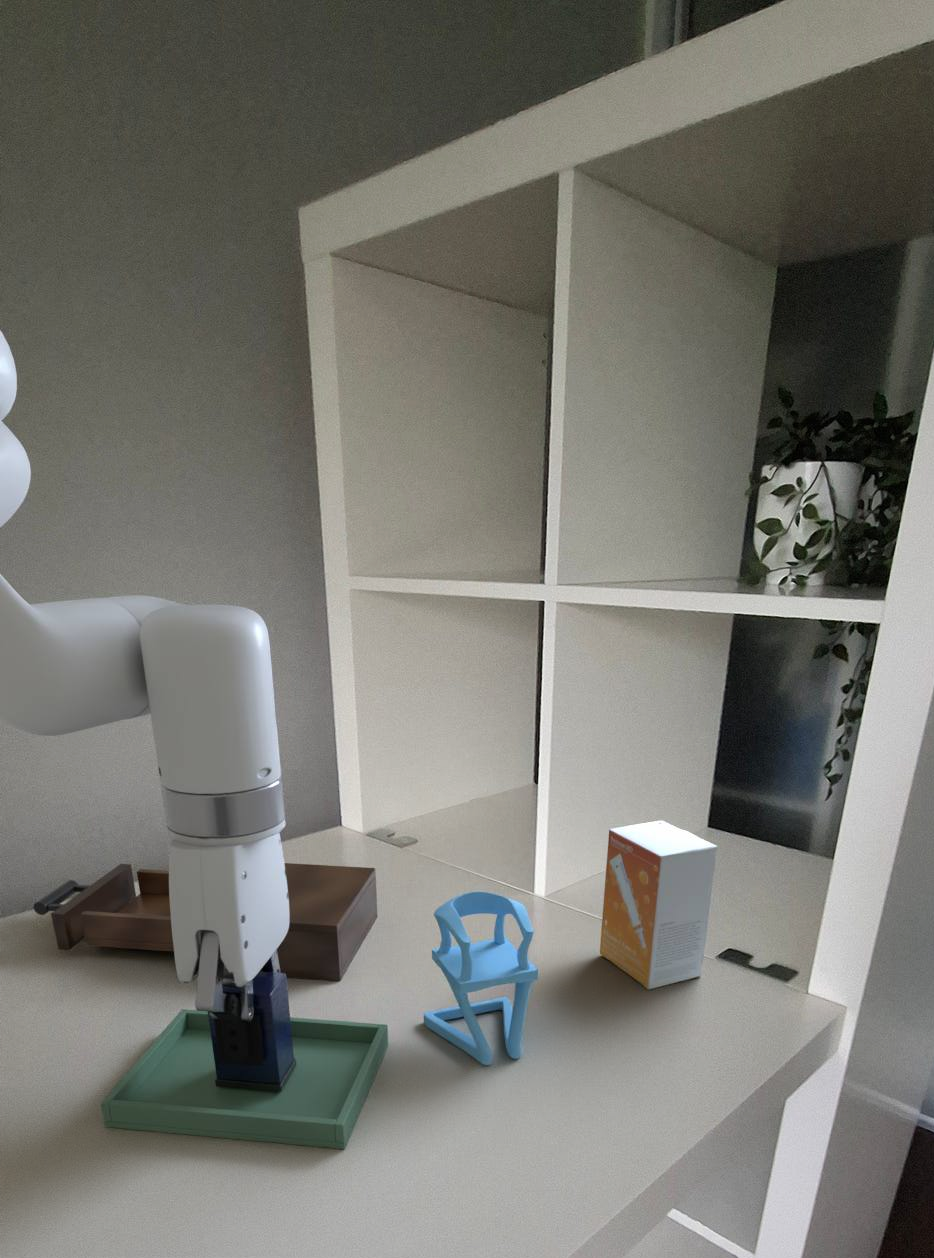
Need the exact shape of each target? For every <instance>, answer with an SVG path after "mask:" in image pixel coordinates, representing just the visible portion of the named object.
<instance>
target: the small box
mask: <svg viewBox="0 0 934 1258" xmlns="http://www.w3.org/2000/svg"><path fill="white" fill-rule="evenodd" d="M607 841H608V842H607V853H606V854H607V855H606V856H607V857H606V866H605V880H604V890H603V891H604V892H603V893H604V894H603V906H602V917H601V918H602V919H601V930H600V931H601V932H600V942H599V955H600V956H602V957H603V958H605V959H607V960H608V961H610V962H611V964H614V965H615V966H617V968H619V969H620V970H622V971H623V972H625V973H626V974H628V975H629V977H631V978H633V979H634V980H636V981H637V982H638V983H639V984H641V985H642V986H643V987H644V988H646V989H647V990H652V989H656V988H660V987H664V986H668V985H672V984H675V983H679V982H683V981H687V980H691V979H694V978H695V979H696V978H698V977H700V976H702V974H703V966H704V965H703V964H704V957H705V956H704V955H705V950H706V949H705V948H706V940H707V933H708V926H709V925H708V924H709V917H710V909H711V901H712V899H711V898H712V894H713V884H714V875H715V867H716V859H717V853H718V845H716V844H714V843H712V842H709V841H708V840H706V839H703V838H701V837H699V836H697V835H696V834H693V832H690V831H688V830H684V829H681V828H679V827H677V826H675V825H673V824H671V823H668V822H667V821H665V820H656V821H649V822H643V823H636V824H631V825H630V824H629V825H625V826H620V827H619V826H618V827H614V828H610V829H608V840H607Z"/></svg>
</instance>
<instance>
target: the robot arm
mask: <svg viewBox="0 0 934 1258" xmlns="http://www.w3.org/2000/svg"><path fill="white" fill-rule="evenodd" d="M14 359H15V358H14V356H13V354H12V350H11V347H10V345H9V342H8V341H7V339H6V337H5V335H4V333H3V332H2V329H0V528H2V527H3V526H4V525H5V524H6V523H8V522H9V520H10V519H11V518H12V517H13V515H14V514H16V512H17V511H18V510H19V508H20V507H21V505H22V503H24V501H25V500H26V497H27V494H28V492H29V489H30V485H31V480H32V479H31V478H32V476H31V475H32V470H31V463H30V459H29V456H28V454H27V451H26V449H25V448H24V446H23V444H22V443H21V441H20V440H19V439H18V438H17V437H16V435H15V434H14V433H13V432H12V431H11V430H10V429H9V427H8V426H7V425H6V424H5V423H4V421H2V420H4V419H5V418H6V417H7V415H8V414H9V413H10V412H11V410H12V408H13V405H14V403H15V401H16V397H17V393H18V392H17V391H18V374H17V368H16V363H15V360H14ZM269 637H270V636H269V632H268V627H267V625H266V622H265V621H264V619H263V618H262V617H261V615H260V614H259V613H257V612H256V611H255V610H254V609H250V608H247V607H244V606H239V605H232V604H184V603H179V602H177V601H172V600H169V599H165V598H162V597H157V596H151V595H142V594H141V595H140V594H130V595H129V594H128V595H127V594H126V595H117V596H116V595H115V596H107V597H92V598H91V597H90V598H84V599H83V598H80V599H70V600H57V601H47V602H39V603H31V604H30V603H29V602H27V601H26V600H25V599H24V598H23V597H22V596H21V595H20V594H19V593H18V592H17V591H16V590H15V589H14V587H13V586H12V585H11V584H10V583H9V581H7V579H6V578H5V577H4V576H3V575H2V574H1V573H0V719H2V720H3V721H5V722H7V723H8V724H9V725H11V726H12V727H15V728H17V729H18V730H21V731H22V732H26V733H29V734H32V735H37V736H43V737H46V736H49V737H57V736H63V735H67V734H71V733H76V732H80V731H84V730H88V729H92V728H96V727H101V726H105V725H108V724H113V723H116V722H119V721H124V720H125V721H126V720H131V719H134V718H135V719H136V718H140V717H143V716H148V715H150V719H151V727H152V733H153V740H154V748H155V753H156V754H155V755H156V761H157V767H158V768H157V769H158V774H159V781H160V787H161V794H162V804H163V808H164V815H165V821H166V822H165V823H166V828H167V829H166V831H167V834H168V836H169V838H171V839H172V841H170V843H169V853H168V854H169V855H168V871H169V899H170V913H171V926H172V937H173V947H174V951H173V955H174V962H175V969H176V970H175V971H176V974H177V978H178V980H179V981H180V982H181V983H182V984H190V983H192V982H193V981H194V980H195V979H197V982H196V993H195V1003H194V1004H195V1005H194V1007H195V1010H198V1011H209V1012H210V1017H211V1018H214V1024H215V1031H216V1039H217V1046H218V1054H219V1059H220V1061H221V1062H223V1063H230V1064H243V1065H255V1066H259V1065H261V1064H262V1062H263V1061H264V1059H265V1056H264V1047H263V1038H262V1029H261V1020H260V1014H256V1013H254V998H253V978H254V977H255V976H256V975H257V974H258V972H259V971H262V972H277V973H280V966H279V960H278V954H277V953H278V952H279V949H278V947H279V945H280V944H281V942H282V941H283V940H284V938H285V936H286V934H287V932H288V929H289V898H288V887H287V879H286V871H285V864H284V863H285V857H284V852H283V846H282V845H283V844H282V839H281V835H280V832H282V831H283V830H284V829H285V827H286V824H287V823H286V816H285V803H284V802H285V801H284V791H283V781H282V780H283V779H282V768H281V767H282V766H281V755H280V746H279V734H278V733H279V732H278V723H277V711H276V710H277V709H276V700H275V690H274V689H275V688H274V687H275V686H274V678H273V677H274V676H273V666H272V655H271V644H270V638H269ZM224 969H227V970H228V972H232V973H225V972H224ZM222 986H228V987H239V997H240V999H239V998H237V997H236V996H235V995H233V994H224V993H223V988H222Z"/></svg>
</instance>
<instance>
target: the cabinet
mask: <svg viewBox="0 0 934 1258" xmlns="http://www.w3.org/2000/svg"><path fill="white" fill-rule="evenodd" d="M284 864H285V871H286V879H287V887H288V898H289V929H288V932H287V934H286V936H285V938H284V940H283V941H282V942H281V944H280V945H279V947H278V949H279V952H278V953H277V954H278V960H279V966H280V973H286V978H292V979H306V980H321V981H333V982H334V981H335V982H341V981H342V979H343V977H344V975H345V974H346V972H347V970H348V969H349V967H350V965H351V963H352V962H353V960H354V958H355V957H356V955H357V953H358V951H359V950H360V948H361V946H362V944H363V943H364V940H365V939H366V938H367V936H368V934H369V932H370V931H371V929H372V927H373V926H374V924H375V922H376V920H377V919H378V897H377V893H378V892H377V873H376V868H375V867H363V866H362V867H361V866H360V867H359V866H347V865H326V864H310V863H309V864H308V863H291V862H289V863H288V862H284Z"/></svg>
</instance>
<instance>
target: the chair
mask: <svg viewBox="0 0 934 1258" xmlns="http://www.w3.org/2000/svg"><path fill="white" fill-rule="evenodd" d="M481 914H485V915H486V914H487V915H488V914H489V915H491V914H492V915H496V919H495V922H494V928H493V929H494V930H493V938H490V939H486V940H481V941H478V942H471V941H472V940H471V938H470V936H469V935H468V932H467V930H466V928H465V926H464V923H463V921H462V919H461V918H462V917H466V916H471V915H481ZM506 915H511V916H512V917H513V918H514V919H515V922H516V924H517V925H518V927H519V930H520V933H521V935H522V938H523V939H522V941H521V943H520V945H519V947H518V949H517V948H516V947H515V945H514V944H512V942H511V941H510V940H509V939H508V938H507V937H506V936H505V921H506ZM433 916H434V918H435V920H436V922H437V926H438V928H439V931H440V937H441V938H440V939H441V942H440V946H439V947H436V948H431V959H432V961H433V962H434V963H435V964H436V966H437V967H438V968H439V969H440V970H441V972H442V973H443V975H444V977H445V978H446V981H447V982H448V985H449V986H450V989H451V991H452V993H453V996H454V998H455V1000H456V1002H457V1005H456V1006H451V1007H445V1008H442V1009H436V1010H430V1011H425V1012H423V1024H424V1025H425V1026H426V1027H427V1028H428V1029H430V1030H431V1031H433V1032H434V1033H435V1034H437V1035H439V1036H440V1037H442V1038H443V1039H445V1040H446V1041H448V1042H449V1043H451V1044H453V1045H454V1046H456V1047H457V1048H459V1049H461V1050H462V1051H464V1052H465V1053H467V1054H468V1055H469V1056H471V1057H472V1058H474V1059H475V1060H476V1061H477V1062H478V1063H480V1064H481V1065H483V1066H489V1065H491V1064H492V1063H493V1062H492V1061H493V1058H492V1049H491V1047H490V1045H489V1043H488V1041H487V1038H486V1036H485V1034H484V1032H483V1030H482V1028H481V1026H480V1024H479V1022H478V1020H477V1017H476V1015H478V1014H484V1013H488V1012H494V1011H499V1010H500V1011H502V1018H503V1031H504V1032H503V1035H504V1042H505V1043H504V1044H505V1047H506V1052H507V1054H508V1056H509V1057H510V1058H512V1059H514V1060H518V1059H520V1058H522V1039H523V1033H524V1028H525V1027H524V1026H525V1021H526V1014H527V1007H528V1003H529V998H530V991H531V987H532V984H533V981H538V979H539V977H538V976H539V969H538V968H537V967H536V966H535V965H534V964H533V963H532V962H531V961H530V960H529V956H528V955H529V948H530V945H531V942H532V941H533V936H534V932H535V931H534V928H533V926H532V925H531V922H530V918H529V914H528V911H527V909H526V906H525V905H524V904H522V903H521V902H519V901H516V900H514V899H511V898H509V897H506V896H503V895H500V894H496V893H493V892H489V891H480V890H479V891H478V890H477V891H470V892H469V891H468V892H466V893H465V892H464V893H462V894H460V895H457V896H455V897H453V898H451V899H450V900H448V901H446V902H444V903H442V904H441V905H440V906H438V907H437V909H435V910H434V912H433ZM452 938H454V939H455V941H456V944H458V945H452V943H453V941H452ZM508 984H514V997H513V1004H512V1002H511V1000H510V999H509V998H508V997H506V996H503V997H502V996H501V997H497V998H492V999H486V1000H482V1001H477V1002H471V1003H470V1001H469V998H468V997H469V996H468V994H470V993H474V992H479V991H482V990H485V989H489V988H492V987H497V986H502V985H508ZM459 1018H464V1021H465V1023H466V1025H467V1027H468V1029H469V1032H470V1034H471V1035H469V1034H468V1033H465V1031H462V1030H461V1029H459V1028H457V1027H455V1026H453V1025H451V1024H450V1023H448V1022H446V1021H449V1020H453V1019H459Z"/></svg>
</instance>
